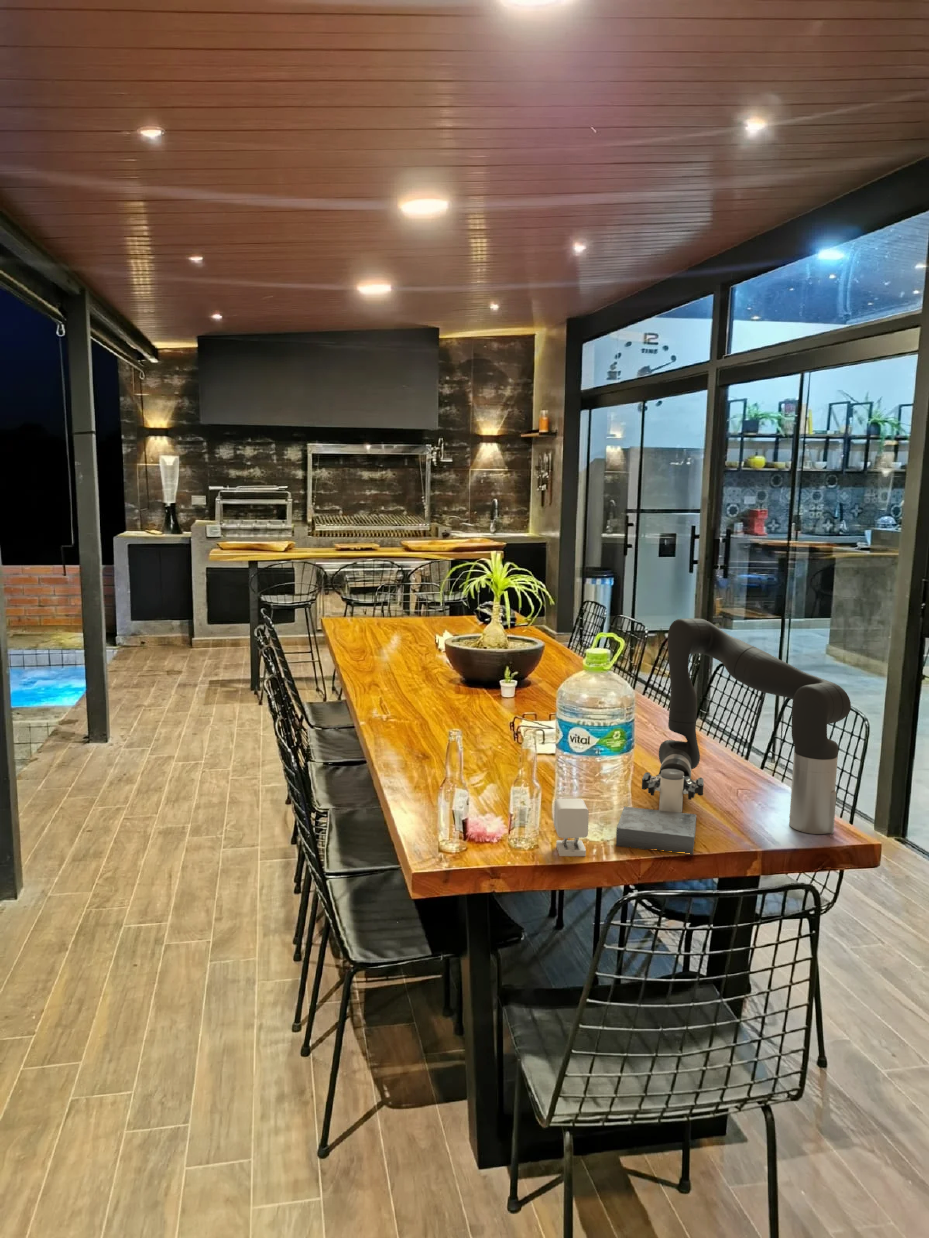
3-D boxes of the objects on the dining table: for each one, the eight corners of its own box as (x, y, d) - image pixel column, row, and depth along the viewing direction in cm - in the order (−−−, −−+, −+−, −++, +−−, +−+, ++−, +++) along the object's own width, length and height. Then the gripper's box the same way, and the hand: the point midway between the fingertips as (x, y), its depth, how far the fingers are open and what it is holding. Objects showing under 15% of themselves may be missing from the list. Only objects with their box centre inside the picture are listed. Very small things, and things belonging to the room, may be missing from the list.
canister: (682, 815, 217) (684, 770, 215) (681, 823, 212) (683, 776, 210) (659, 812, 218) (661, 767, 216) (657, 820, 213) (660, 774, 212)
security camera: (582, 843, 199) (584, 798, 197) (587, 856, 192) (589, 810, 190) (553, 843, 199) (554, 798, 197) (557, 856, 192) (559, 809, 190)
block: (695, 831, 207) (696, 814, 206) (692, 855, 193) (693, 836, 193) (623, 823, 211) (624, 806, 210) (616, 845, 198) (616, 827, 197)
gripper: (646, 755, 229) (640, 774, 213) (705, 760, 225) (703, 780, 210) (645, 784, 230) (638, 805, 215) (704, 790, 226) (702, 812, 211)
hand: (670, 793), depth 212 cm, fingers open, 8 cm apart
